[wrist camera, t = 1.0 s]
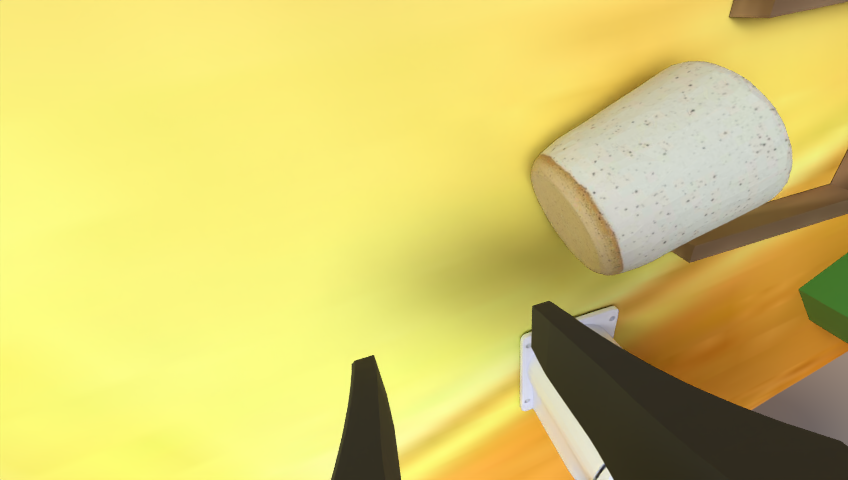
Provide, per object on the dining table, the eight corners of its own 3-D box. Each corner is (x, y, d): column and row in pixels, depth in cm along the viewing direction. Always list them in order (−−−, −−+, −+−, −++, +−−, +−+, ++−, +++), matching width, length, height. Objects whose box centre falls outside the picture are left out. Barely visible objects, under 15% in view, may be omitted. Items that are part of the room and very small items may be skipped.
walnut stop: (836, 195, 29) (868, 207, 27) (666, 247, 27) (689, 262, 25) (974, -61, 20) (1033, -67, 19) (738, -17, 18) (781, -19, 16)
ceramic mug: (502, 142, 19) (599, 211, 13) (642, 47, 19) (814, 73, 12) (559, 266, 25) (643, 353, 19) (666, 199, 25) (789, 267, 19)
